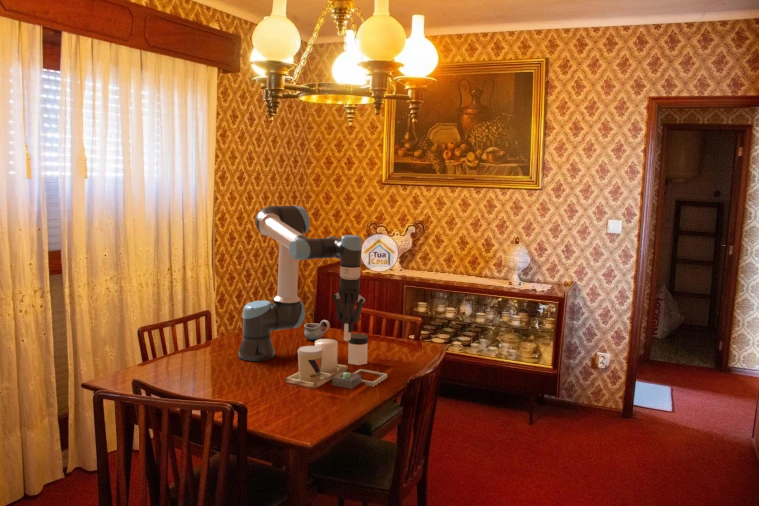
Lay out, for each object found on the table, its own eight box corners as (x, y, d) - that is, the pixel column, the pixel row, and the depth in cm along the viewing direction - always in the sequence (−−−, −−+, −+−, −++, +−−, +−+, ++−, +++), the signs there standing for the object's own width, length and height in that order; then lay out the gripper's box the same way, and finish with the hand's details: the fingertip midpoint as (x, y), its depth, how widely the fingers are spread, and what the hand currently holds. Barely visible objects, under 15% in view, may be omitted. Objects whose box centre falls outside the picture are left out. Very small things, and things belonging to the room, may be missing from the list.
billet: (309, 372, 238) (310, 342, 236) (321, 366, 246) (322, 337, 244) (329, 376, 234) (330, 346, 233) (341, 370, 242) (341, 340, 241)
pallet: (285, 384, 226) (285, 378, 226) (319, 366, 249) (319, 360, 248) (315, 390, 221) (315, 384, 220) (347, 372, 243) (347, 366, 243)
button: (341, 384, 226) (341, 373, 225) (345, 381, 228) (345, 371, 228) (348, 385, 224) (348, 375, 224) (352, 383, 227) (352, 372, 227)
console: (332, 387, 225) (332, 377, 224) (342, 381, 232) (342, 371, 231) (351, 391, 221) (351, 380, 221) (360, 385, 229) (361, 374, 228)
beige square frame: (345, 381, 232) (345, 377, 232) (359, 372, 243) (360, 368, 243) (374, 386, 227) (374, 382, 227) (387, 377, 238) (387, 373, 238)
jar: (353, 368, 248) (354, 339, 247) (343, 362, 255) (344, 335, 254) (371, 365, 253) (372, 337, 252) (361, 360, 260) (362, 332, 259)
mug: (306, 336, 296) (307, 316, 294) (332, 338, 294) (332, 317, 293) (301, 341, 286) (302, 320, 285) (327, 343, 284) (328, 322, 283)
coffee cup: (311, 385, 223) (312, 353, 221) (291, 380, 228) (292, 349, 226) (326, 379, 231) (327, 348, 229) (307, 374, 236) (308, 344, 234)
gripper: (329, 276, 221) (326, 339, 224) (361, 281, 215) (358, 345, 219) (339, 274, 228) (336, 335, 231) (370, 278, 222) (367, 340, 226)
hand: (347, 340), depth 225 cm, fingers closed
